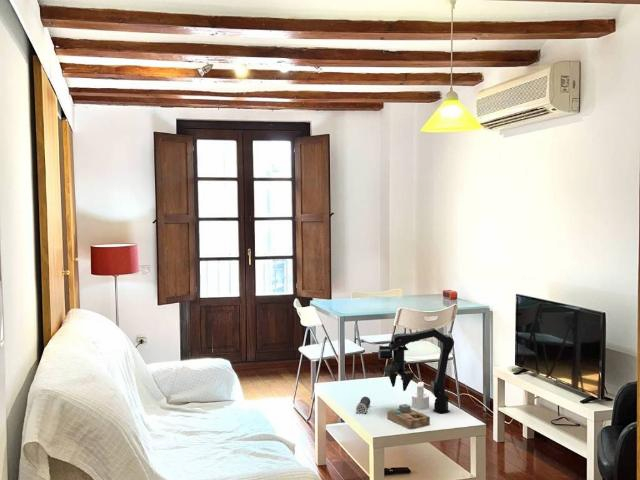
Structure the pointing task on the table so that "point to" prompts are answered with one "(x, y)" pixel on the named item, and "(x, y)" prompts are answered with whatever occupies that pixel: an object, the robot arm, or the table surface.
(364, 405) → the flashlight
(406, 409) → the grey upright block
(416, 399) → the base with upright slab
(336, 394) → the table surface
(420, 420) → the socket board
